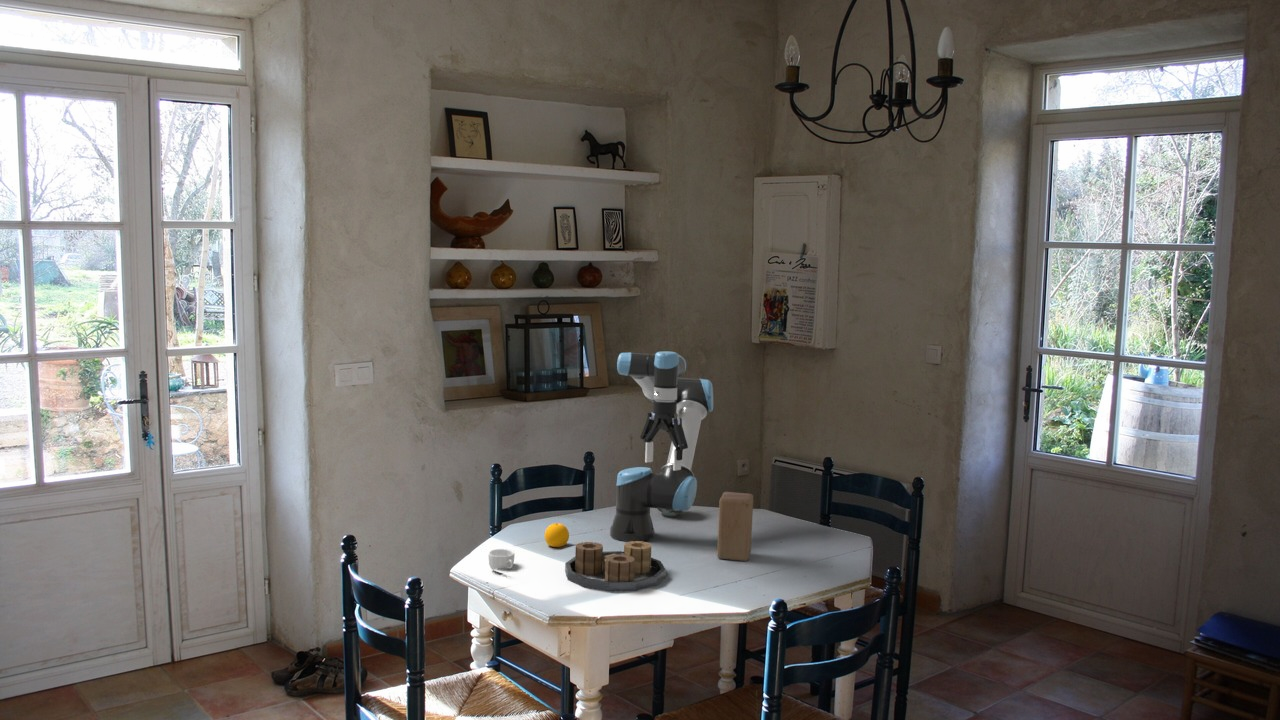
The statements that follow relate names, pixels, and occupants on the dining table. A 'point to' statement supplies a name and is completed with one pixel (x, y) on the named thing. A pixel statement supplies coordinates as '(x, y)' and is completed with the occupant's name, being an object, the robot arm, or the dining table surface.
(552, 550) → the dining table surface
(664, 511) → the bowl
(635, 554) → the planet gear
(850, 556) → the dining table surface
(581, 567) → the seated gear
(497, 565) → the teacup
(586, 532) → the dining table surface
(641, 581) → the carrier
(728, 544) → the wooden block
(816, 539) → the dining table surface
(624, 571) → the seated gear
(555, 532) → the orange
